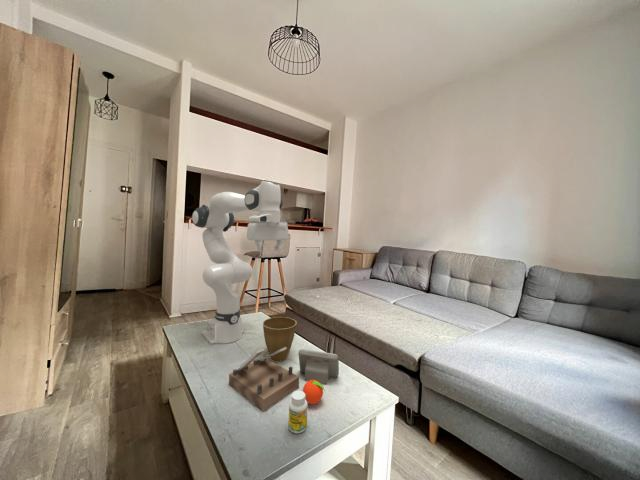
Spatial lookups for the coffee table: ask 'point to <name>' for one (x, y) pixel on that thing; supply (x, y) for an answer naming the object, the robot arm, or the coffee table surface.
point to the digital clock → (318, 365)
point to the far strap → (272, 354)
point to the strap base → (264, 383)
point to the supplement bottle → (298, 412)
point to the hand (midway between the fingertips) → (268, 250)
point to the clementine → (313, 391)
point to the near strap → (250, 360)
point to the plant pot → (279, 336)
